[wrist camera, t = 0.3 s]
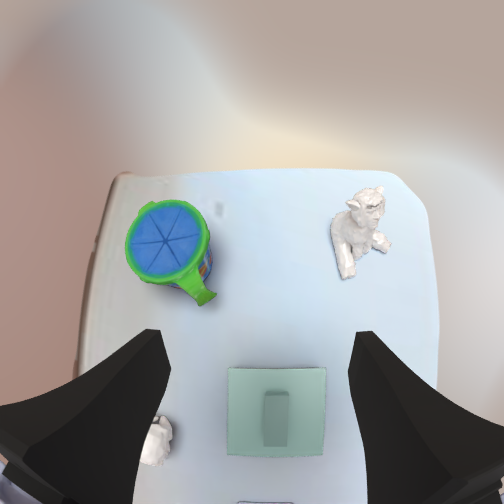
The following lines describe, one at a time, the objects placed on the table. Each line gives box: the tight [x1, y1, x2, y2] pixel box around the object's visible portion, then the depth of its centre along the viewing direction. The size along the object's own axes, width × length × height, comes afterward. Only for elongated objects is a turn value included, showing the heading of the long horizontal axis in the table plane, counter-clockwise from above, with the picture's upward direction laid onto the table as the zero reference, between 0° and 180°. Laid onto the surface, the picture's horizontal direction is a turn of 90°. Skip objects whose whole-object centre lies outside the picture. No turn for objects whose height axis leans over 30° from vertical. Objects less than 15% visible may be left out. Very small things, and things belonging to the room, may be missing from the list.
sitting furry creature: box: [330, 186, 391, 280], centre depth 35 cm, size 10×9×12 cm
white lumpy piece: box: [140, 416, 173, 466], centre depth 30 cm, size 6×8×12 cm
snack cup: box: [125, 200, 217, 306], centre depth 37 cm, size 16×10×10 cm
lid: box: [227, 368, 326, 457], centre depth 28 cm, size 11×11×5 cm
